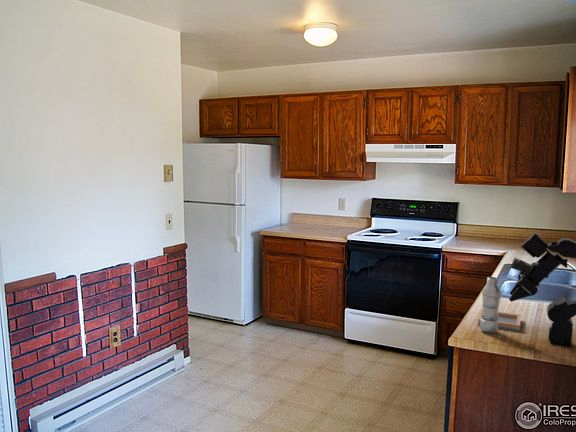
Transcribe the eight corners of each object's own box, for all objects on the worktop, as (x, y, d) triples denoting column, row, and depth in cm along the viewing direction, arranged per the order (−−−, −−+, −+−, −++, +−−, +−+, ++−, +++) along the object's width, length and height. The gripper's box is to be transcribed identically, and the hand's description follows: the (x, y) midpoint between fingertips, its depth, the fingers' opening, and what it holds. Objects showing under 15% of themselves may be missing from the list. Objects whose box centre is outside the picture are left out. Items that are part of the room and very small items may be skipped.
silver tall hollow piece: (475, 331, 180) (479, 277, 177) (484, 327, 184) (487, 275, 182) (493, 336, 175) (497, 281, 173) (501, 331, 180) (505, 278, 178)
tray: (520, 320, 193) (520, 314, 193) (519, 331, 181) (520, 325, 180) (480, 314, 200) (481, 309, 199) (477, 325, 187) (478, 319, 186)
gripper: (525, 246, 180) (493, 276, 186) (525, 255, 164) (490, 287, 169) (550, 268, 177) (517, 297, 183) (552, 279, 161) (516, 310, 166)
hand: (510, 297), depth 175 cm, fingers open, 9 cm apart
